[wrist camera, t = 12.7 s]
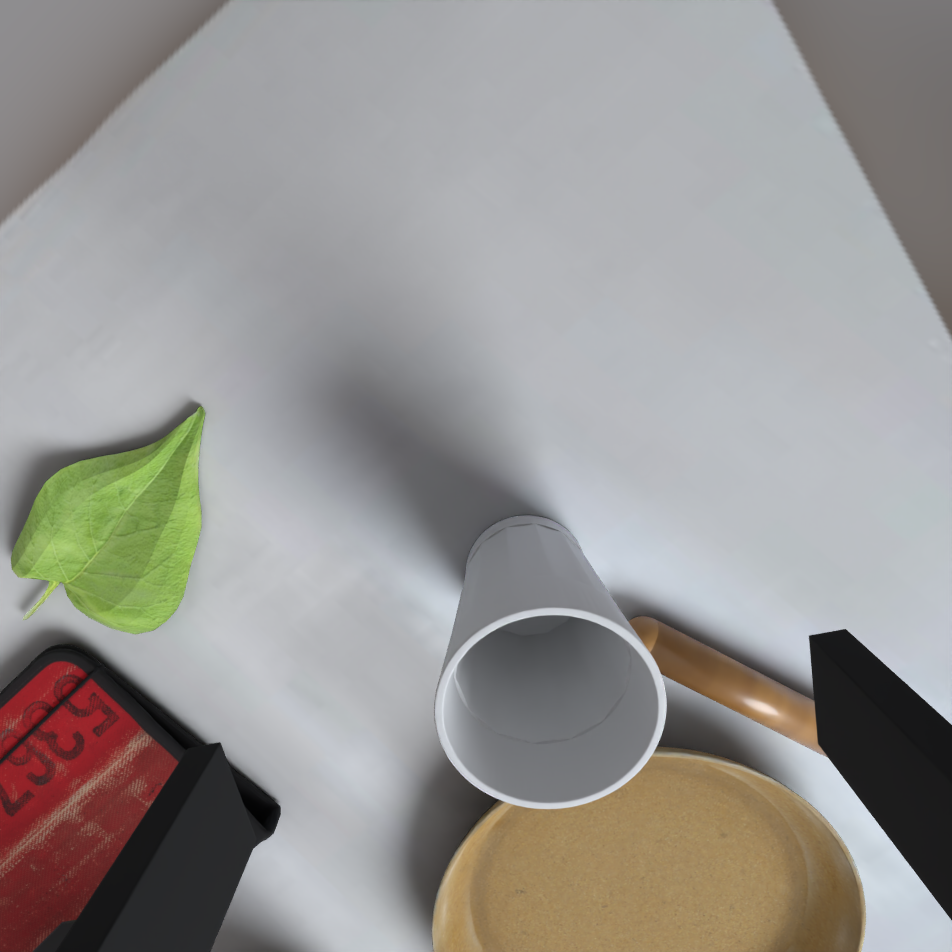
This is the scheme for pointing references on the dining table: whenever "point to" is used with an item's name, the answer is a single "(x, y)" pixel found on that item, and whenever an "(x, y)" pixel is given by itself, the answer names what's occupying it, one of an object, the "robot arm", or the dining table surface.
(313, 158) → the dining table surface
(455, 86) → the dining table surface
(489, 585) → the cup
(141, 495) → the leaf
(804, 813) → the plant saucer
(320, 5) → the dining table surface
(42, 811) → the notebook
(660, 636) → the dowel
